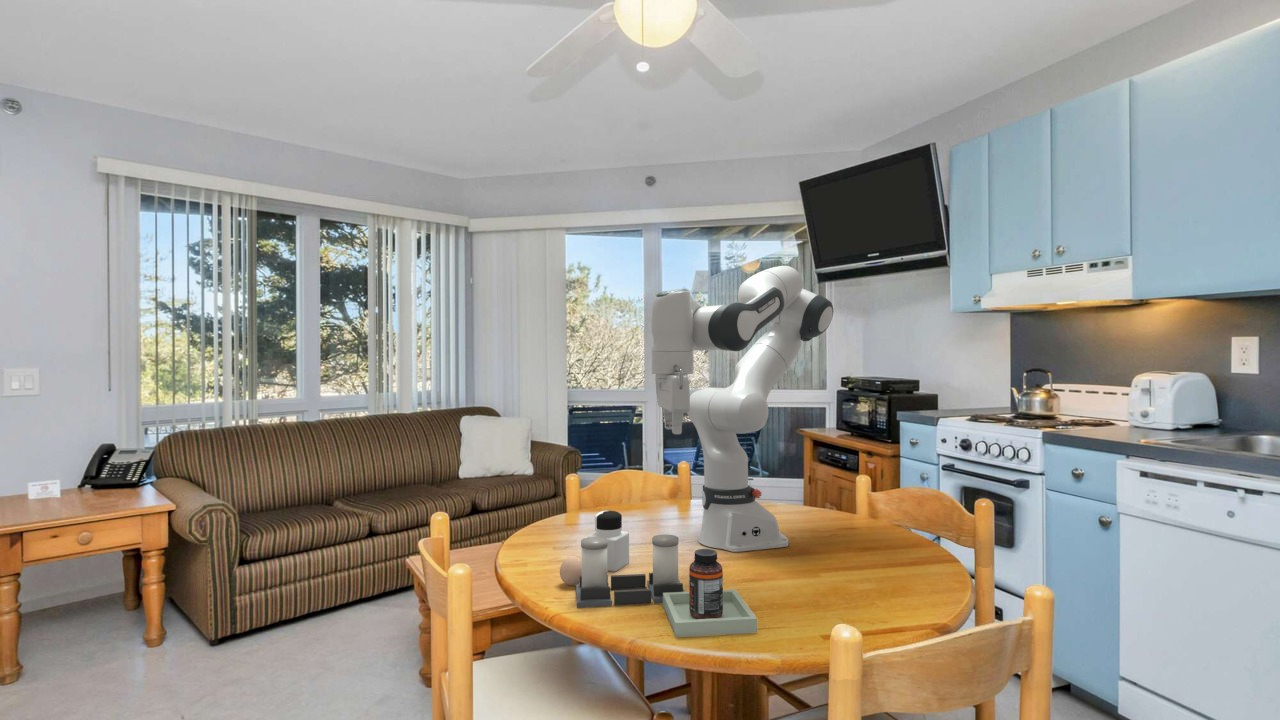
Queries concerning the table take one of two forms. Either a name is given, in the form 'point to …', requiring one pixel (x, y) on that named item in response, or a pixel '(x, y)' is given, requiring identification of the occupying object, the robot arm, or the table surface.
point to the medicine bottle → (613, 538)
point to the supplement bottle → (705, 585)
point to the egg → (571, 570)
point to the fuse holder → (596, 579)
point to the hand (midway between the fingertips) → (672, 431)
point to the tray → (731, 622)
